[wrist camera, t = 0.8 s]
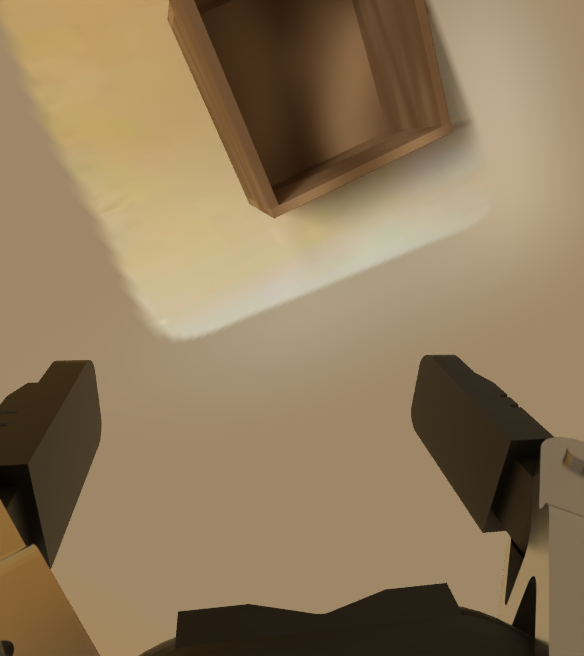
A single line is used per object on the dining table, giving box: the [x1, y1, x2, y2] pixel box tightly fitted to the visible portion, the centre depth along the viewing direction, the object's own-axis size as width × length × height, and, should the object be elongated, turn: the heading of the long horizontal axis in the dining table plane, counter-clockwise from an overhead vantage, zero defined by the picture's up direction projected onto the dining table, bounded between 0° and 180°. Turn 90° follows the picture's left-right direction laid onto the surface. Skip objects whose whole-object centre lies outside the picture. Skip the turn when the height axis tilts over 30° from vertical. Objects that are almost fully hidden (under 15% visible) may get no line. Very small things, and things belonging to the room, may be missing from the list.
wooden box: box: [168, 0, 452, 218], centre depth 25 cm, size 11×11×7 cm
